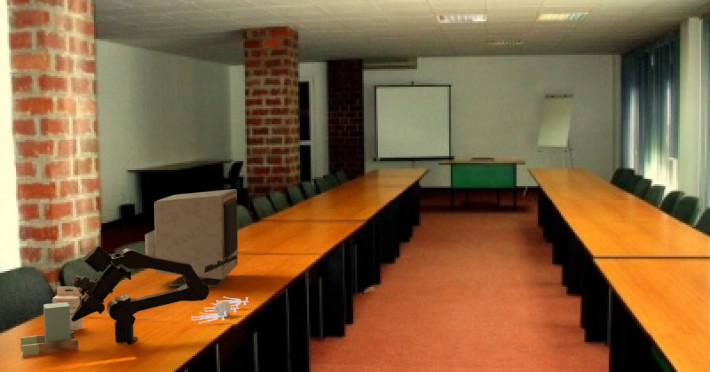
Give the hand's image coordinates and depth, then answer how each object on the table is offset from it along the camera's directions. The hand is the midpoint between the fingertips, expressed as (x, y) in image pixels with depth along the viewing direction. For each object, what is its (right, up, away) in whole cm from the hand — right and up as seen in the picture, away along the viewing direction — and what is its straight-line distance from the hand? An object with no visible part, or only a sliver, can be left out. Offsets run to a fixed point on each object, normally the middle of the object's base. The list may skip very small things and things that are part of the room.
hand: (72, 320), depth 237 cm
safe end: (-11, -9, -5) cm, 15 cm away
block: (-4, -8, -1) cm, 9 cm away
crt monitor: (+16, -1, +101) cm, 102 cm away
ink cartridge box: (-9, -7, +21) cm, 24 cm away
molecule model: (+39, -6, +41) cm, 57 cm away
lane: (-4, -9, -1) cm, 10 cm away
